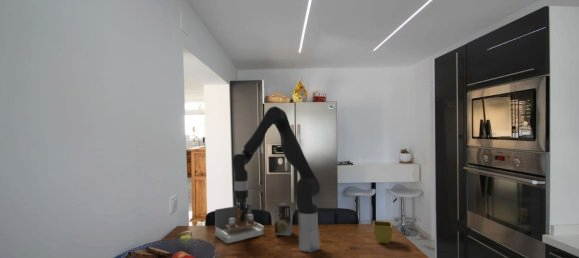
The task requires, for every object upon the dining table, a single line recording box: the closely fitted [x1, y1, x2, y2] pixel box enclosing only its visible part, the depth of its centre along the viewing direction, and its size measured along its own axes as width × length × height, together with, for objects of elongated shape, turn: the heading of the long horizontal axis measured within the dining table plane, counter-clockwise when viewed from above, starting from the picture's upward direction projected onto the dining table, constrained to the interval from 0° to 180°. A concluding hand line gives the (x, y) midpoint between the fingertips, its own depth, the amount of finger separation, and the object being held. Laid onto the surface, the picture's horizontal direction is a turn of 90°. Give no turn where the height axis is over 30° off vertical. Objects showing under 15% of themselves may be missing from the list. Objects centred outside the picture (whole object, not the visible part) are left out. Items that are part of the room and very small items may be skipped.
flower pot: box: [373, 220, 393, 244], centre depth 130 cm, size 9×9×9 cm
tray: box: [225, 207, 258, 231], centre depth 142 cm, size 8×16×10 cm, turn 126°
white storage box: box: [214, 203, 265, 244], centre depth 144 cm, size 16×22×14 cm
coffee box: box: [273, 203, 293, 237], centre depth 144 cm, size 9×6×16 cm
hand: (241, 220), depth 142 cm, fingers closed on tray, 3 cm apart
